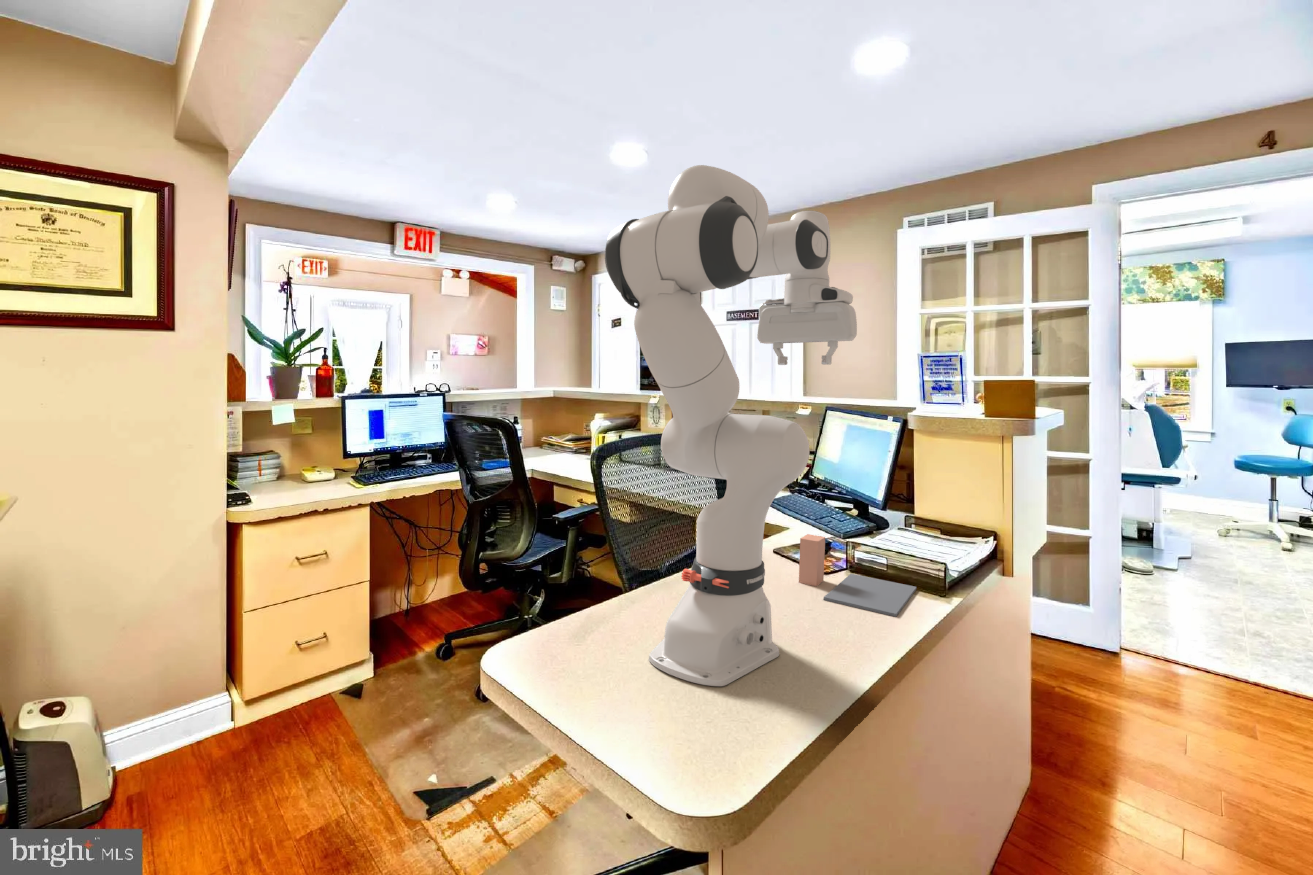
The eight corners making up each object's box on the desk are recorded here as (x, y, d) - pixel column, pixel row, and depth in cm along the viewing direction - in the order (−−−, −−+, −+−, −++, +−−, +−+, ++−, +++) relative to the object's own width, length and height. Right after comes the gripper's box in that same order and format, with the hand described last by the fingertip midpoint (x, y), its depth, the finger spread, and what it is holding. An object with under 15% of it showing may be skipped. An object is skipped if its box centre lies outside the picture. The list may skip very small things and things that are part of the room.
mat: (896, 616, 108) (896, 613, 108) (823, 599, 116) (823, 596, 116) (916, 589, 122) (916, 586, 122) (850, 576, 130) (850, 573, 130)
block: (816, 586, 124) (818, 541, 123) (798, 582, 126) (800, 538, 125) (823, 580, 127) (825, 537, 126) (806, 576, 130) (807, 534, 129)
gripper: (753, 298, 120) (751, 364, 121) (851, 290, 108) (848, 363, 109) (766, 302, 125) (764, 365, 126) (861, 294, 113) (857, 364, 114)
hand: (803, 364), depth 118 cm, fingers open, 8 cm apart
